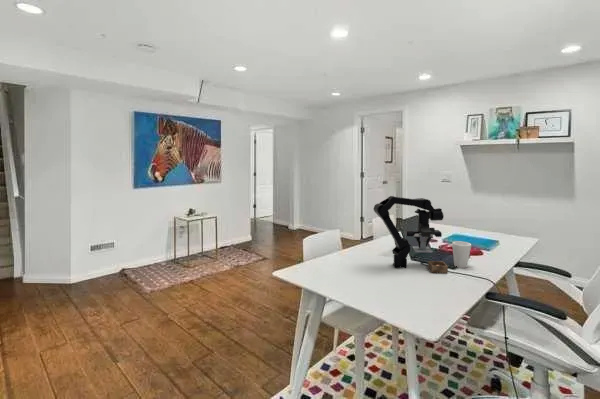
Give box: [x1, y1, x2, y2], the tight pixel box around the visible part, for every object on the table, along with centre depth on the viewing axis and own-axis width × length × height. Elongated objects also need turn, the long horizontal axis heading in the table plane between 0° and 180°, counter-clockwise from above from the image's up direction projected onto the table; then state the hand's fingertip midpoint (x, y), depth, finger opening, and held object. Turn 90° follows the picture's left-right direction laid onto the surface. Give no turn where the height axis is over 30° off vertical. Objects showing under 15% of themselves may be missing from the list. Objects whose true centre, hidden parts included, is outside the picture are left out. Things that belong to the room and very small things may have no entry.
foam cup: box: [451, 240, 472, 269], centre depth 188 cm, size 10×9×13 cm
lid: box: [412, 240, 434, 254], centre depth 190 cm, size 9×9×5 cm
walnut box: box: [427, 260, 449, 275], centre depth 181 cm, size 8×8×4 cm
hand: (422, 248), depth 190 cm, fingers closed on lid, 3 cm apart
